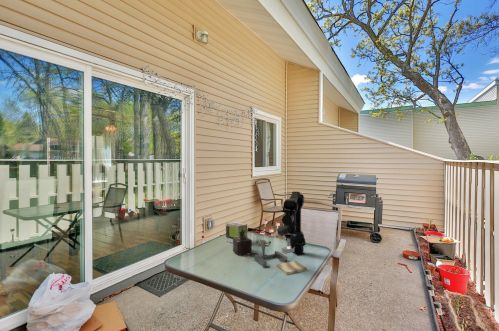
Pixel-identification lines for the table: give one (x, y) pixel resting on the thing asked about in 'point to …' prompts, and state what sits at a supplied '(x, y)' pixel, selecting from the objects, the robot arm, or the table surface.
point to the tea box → (234, 230)
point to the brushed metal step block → (288, 247)
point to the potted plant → (242, 244)
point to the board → (291, 267)
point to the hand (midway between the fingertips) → (290, 247)
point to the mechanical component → (263, 245)
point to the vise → (262, 259)
